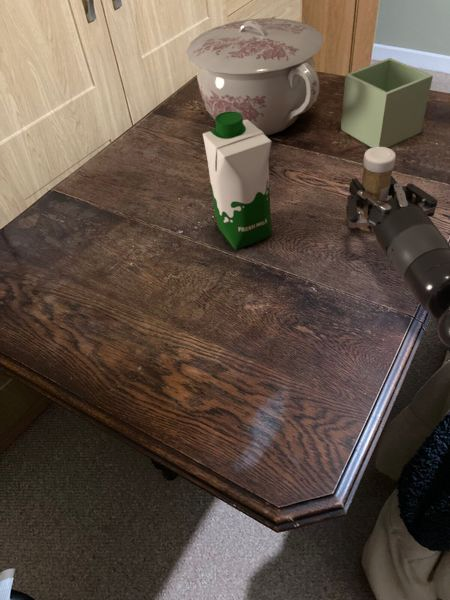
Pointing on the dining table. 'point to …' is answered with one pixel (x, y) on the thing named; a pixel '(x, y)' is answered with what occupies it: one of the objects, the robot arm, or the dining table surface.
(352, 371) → the dining table surface
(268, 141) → the milk carton
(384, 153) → the sprinkles bottle
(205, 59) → the chamber pot
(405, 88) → the bin
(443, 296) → the robot arm
